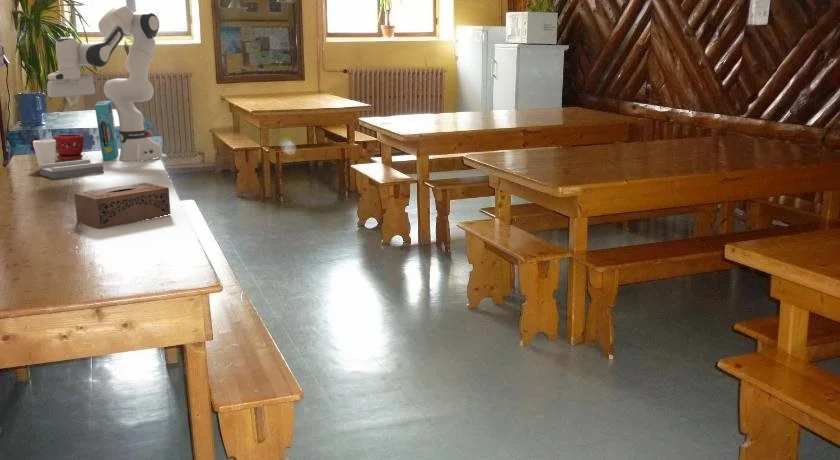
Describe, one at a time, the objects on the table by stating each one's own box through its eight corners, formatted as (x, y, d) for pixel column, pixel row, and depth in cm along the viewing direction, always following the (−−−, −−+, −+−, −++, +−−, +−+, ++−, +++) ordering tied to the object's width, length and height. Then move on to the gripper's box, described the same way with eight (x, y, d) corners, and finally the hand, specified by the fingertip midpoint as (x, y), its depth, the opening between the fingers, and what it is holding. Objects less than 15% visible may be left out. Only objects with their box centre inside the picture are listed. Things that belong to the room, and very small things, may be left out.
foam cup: (62, 167, 373) (59, 139, 369) (51, 171, 364) (48, 142, 360) (43, 167, 373) (39, 139, 370) (31, 170, 364) (28, 142, 361)
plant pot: (78, 161, 391) (76, 136, 388) (51, 161, 391) (48, 136, 388) (89, 157, 404) (87, 133, 401) (63, 157, 404) (61, 133, 401)
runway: (90, 168, 369) (89, 159, 368) (103, 172, 360) (102, 162, 359) (40, 174, 354) (39, 164, 353) (53, 178, 345) (52, 168, 343)
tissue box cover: (148, 210, 285) (145, 182, 283) (170, 216, 276) (168, 187, 273) (77, 223, 266) (74, 193, 264) (98, 230, 257) (96, 199, 255)
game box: (105, 155, 411) (97, 101, 404) (119, 153, 413) (110, 100, 406) (102, 161, 392) (93, 104, 385) (116, 159, 394) (107, 103, 387)
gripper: (89, 72, 366) (92, 103, 370) (43, 75, 352) (47, 107, 355) (95, 73, 362) (99, 104, 365) (49, 76, 347) (53, 108, 351)
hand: (73, 106), depth 360 cm, fingers closed
